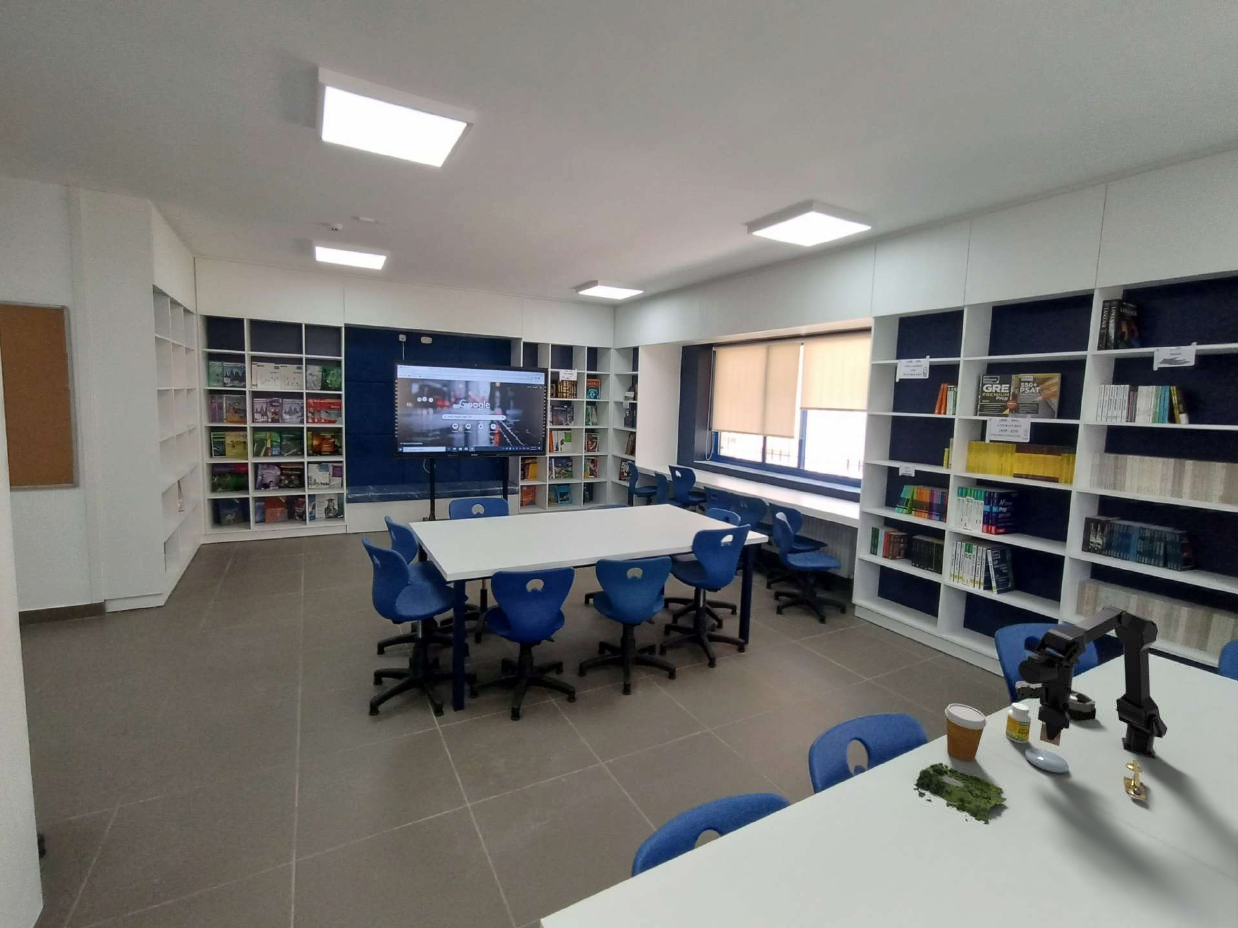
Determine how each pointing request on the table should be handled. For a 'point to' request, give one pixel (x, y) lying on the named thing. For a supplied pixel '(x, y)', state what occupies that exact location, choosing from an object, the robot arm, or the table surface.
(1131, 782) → the brass balance
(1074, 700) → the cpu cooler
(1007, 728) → the supplement bottle
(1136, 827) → the table surface
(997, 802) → the landscape model
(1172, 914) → the table surface
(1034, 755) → the light blue dish
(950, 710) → the disposable coffee cup
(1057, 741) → the walnut block
